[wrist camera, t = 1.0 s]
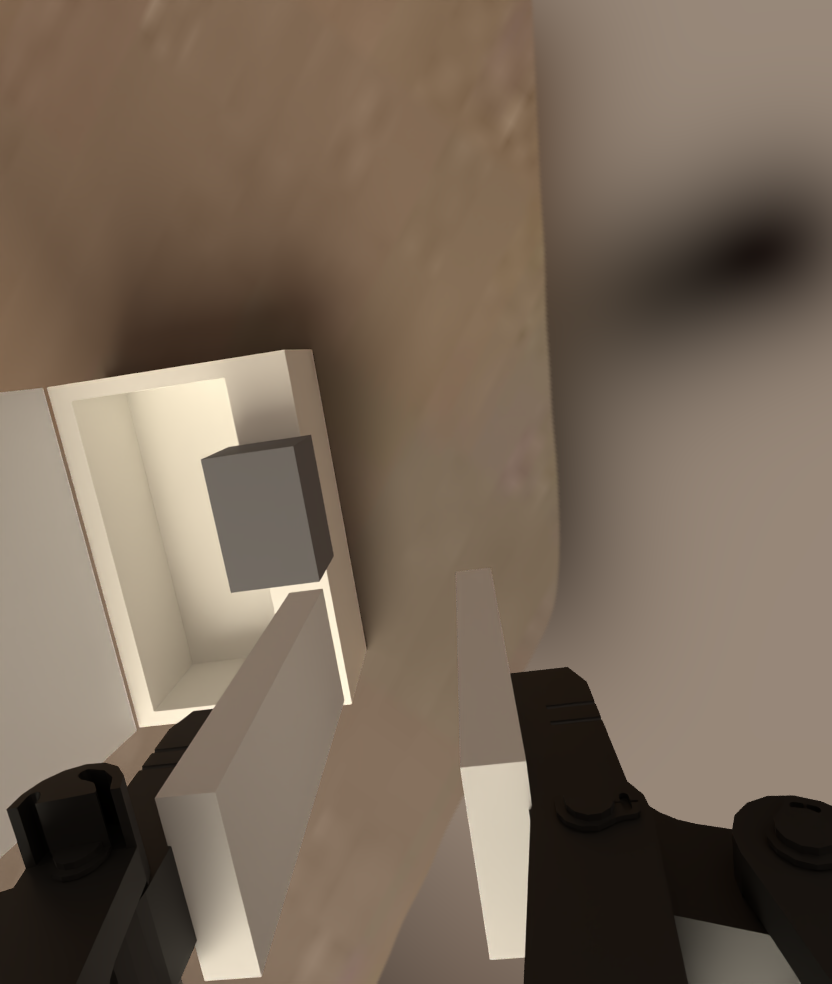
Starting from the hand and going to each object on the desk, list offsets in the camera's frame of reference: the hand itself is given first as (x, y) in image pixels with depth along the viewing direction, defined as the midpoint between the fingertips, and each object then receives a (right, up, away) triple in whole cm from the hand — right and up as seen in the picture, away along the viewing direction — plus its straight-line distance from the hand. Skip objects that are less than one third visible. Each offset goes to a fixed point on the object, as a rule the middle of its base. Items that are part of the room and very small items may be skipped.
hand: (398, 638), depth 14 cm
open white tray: (-10, +1, +23) cm, 25 cm away
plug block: (-6, +3, +17) cm, 18 cm away
